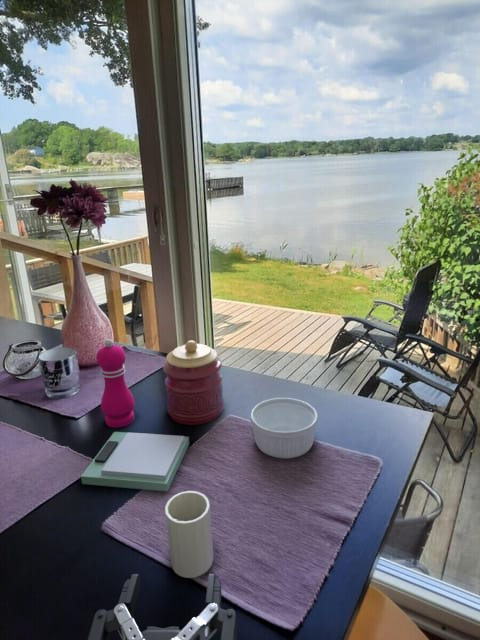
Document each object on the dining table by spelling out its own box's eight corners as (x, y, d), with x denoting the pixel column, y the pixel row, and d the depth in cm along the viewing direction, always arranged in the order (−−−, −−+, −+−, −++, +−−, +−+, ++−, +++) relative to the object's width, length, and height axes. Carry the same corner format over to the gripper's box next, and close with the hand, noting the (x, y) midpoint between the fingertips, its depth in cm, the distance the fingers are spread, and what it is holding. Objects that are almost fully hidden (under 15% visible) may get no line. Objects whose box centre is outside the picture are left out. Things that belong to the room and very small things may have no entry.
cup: (165, 578, 61) (158, 520, 58) (178, 543, 66) (172, 489, 63) (208, 583, 60) (203, 525, 57) (217, 547, 65) (213, 492, 62)
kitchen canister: (187, 393, 110) (181, 327, 104) (233, 403, 105) (230, 334, 99) (156, 420, 99) (148, 347, 93) (206, 432, 94) (201, 356, 88)
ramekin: (269, 419, 98) (269, 391, 95) (326, 435, 91) (327, 405, 89) (239, 452, 87) (238, 421, 85) (302, 472, 81) (302, 440, 78)
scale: (82, 486, 79) (79, 472, 78) (115, 440, 92) (113, 428, 91) (167, 494, 77) (166, 479, 76) (189, 445, 90) (188, 433, 89)
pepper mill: (122, 410, 104) (111, 330, 97) (143, 419, 100) (133, 337, 93) (97, 424, 98) (83, 341, 92) (118, 434, 94) (105, 348, 88)
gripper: (229, 734, 32) (236, 552, 48) (39, 733, 33) (106, 553, 48) (233, 794, 35) (239, 603, 50) (57, 792, 35) (115, 604, 51)
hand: (174, 579), depth 49 cm, fingers open, 8 cm apart
